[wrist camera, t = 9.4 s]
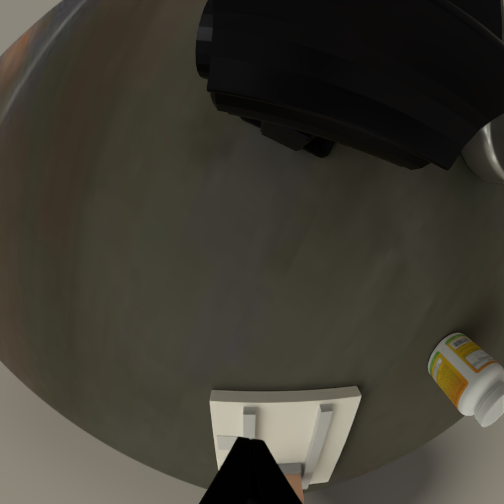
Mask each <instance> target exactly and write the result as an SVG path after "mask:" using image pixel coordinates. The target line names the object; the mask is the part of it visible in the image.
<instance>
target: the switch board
mask: <svg viewBox="0 0 504 504" xmlns="http://www.w3.org/2000/svg"><path fill="white" fill-rule="evenodd" d="M360 399H361V394H360V391H359V389H358V387H357V386H351V387H341V388H331V389H318V390H301V391H225V390H212V391H211V396H210V409H211V418H212V427H213V435H214V442H215V450H216V457H217V464H218V471H219V469H220V468H221V466H222V464H223V462H224V461H225V459H226V457H227V455H228V453H229V452H230V450H231V448H232V446H233V444H234V442H235V441H236V439H237V437H246V438H250V440H251V439H260V440H263V441H264V442H265V443H266V445H267V447H268V448H269V450H270V452H271V454H272V455H273V457H274V459H275V460H276V462H277V464H288V463H300V466H301V473H300V476H301V483H302V489H307V488H308V486H309V484H314V483H323V482H328V481H329V478H330V476H331V474H332V472H333V470H334V468H335V465H336V463H337V461H338V458H339V456H340V454H341V451H342V449H343V446H344V444H345V441H346V439H347V436H348V434H349V431H350V428H351V426H352V423H353V420H354V417H355V414H356V411H357V409H358V406H359V403H360Z"/></svg>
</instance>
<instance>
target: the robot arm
mask: <svg viewBox="0 0 504 504" xmlns="http://www.w3.org/2000/svg"><path fill="white" fill-rule="evenodd" d="M195 53H196V66H197V71H198V73H199V75H200V77H202V78H205V79H208V84H207V91H208V92H210V93H211V99H212V102H213V104H214V105H215V107H216V108H217V110H218V111H223V112H228V114H231V115H236V116H240V118H241V119H242V120H243V121H245V122H248V123H250V124H252V125H254V126H257V127H259V128H261V133H262V135H264V136H266V137H268V138H270V139H273V140H275V141H277V142H279V143H281V144H283V145H285V146H287V147H289V148H291V149H293V150H295V151H297V150H300V149H304V150H306V151H308V152H310V153H312V154H313V155H315V156H317V157H320V158H324V157H326V156H328V155H329V153H330V151H331V149H332V147H333V145H334V143H335V142H337V143H340V144H343V145H346V146H349V147H352V148H355V149H357V150H360V151H363V152H365V153H368V154H371V155H373V156H376V157H378V158H381V159H383V160H386V161H388V162H391V163H393V164H396V165H398V166H400V167H406V168H408V169H410V170H414V169H419V168H423V167H424V166H426V165H428V164H429V163H433V164H435V165H437V166H439V167H440V168H442V169H444V170H449V169H450V168H451V166H452V165H453V163H454V162H455V160H456V159H457V157H458V155H459V154H460V152H461V151H462V149H463V148H464V146H465V145H466V144H467V143H468V142H469V141H470V140H471V139H472V138H473V137H474V135H475V134H476V133H477V132H478V131H479V130H480V129H481V128H483V127H484V126H485V125H487V124H488V123H489V122H491V121H492V120H494V119H495V118H497V117H498V116H500V115H502V114H503V113H504V6H503V0H208V1H207V3H206V5H205V8H204V10H203V13H202V16H201V20H200V23H199V27H198V33H197V39H196V52H195ZM320 147H323V148H324V149H325V153H324V154H322V153H320V152H319V148H320ZM199 504H303V503H302V502H301V500H300V499H299V497H298V496H297V494H296V493H295V491H294V490H293V488H292V486H291V485H290V483H289V482H288V480H287V479H286V477H285V475H284V474H283V472H282V470H281V469H280V467H279V465H278V464H277V462H276V460H275V459H274V457H273V455H272V454H271V452H270V450H269V448H268V447H267V445H266V443H265V442H264V441H263V440H260V439H251V440H250V438H246V437H237V439H236V441H235V442H234V444H233V446H232V448H231V450H230V452H229V453H228V455H227V457H226V459H225V461H224V462H223V464H222V466H221V468H220V469H219V471H218V473H217V474H216V476H215V478H214V480H213V481H212V483H211V485H210V486H209V488H208V490H207V491H206V493H205V495H204V496H203V498H202V500H201V501H200V503H199Z"/></svg>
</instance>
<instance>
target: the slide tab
mask: <svg viewBox="0 0 504 504" xmlns="http://www.w3.org/2000/svg"><path fill="white" fill-rule="evenodd" d="M278 465H279V467H280V469H281V470H282V472H283V474H284V475H285V477H286V479H287V480H288V482H289V483H290V485H291V486H292V488H293V490H294V491H295V493H296V494H297V496H298V497H299V499H300V500H301V502H302V503H303V504H304V497H303V490H302V483H301V476H300V473H301V466H300V463H288V464H278Z"/></svg>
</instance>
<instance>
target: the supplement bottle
mask: <svg viewBox="0 0 504 504" xmlns="http://www.w3.org/2000/svg"><path fill="white" fill-rule="evenodd" d="M428 371H429V374H430V375H431V376H432V378H433V379H434V380H435V382H436V383H437V384H438V385H439V386H440V388H441V389H442V390H443V391H444V392H445V394H446V395H447V396H448V397H449V399H450V400H451V401H452V403H453V404H454V405H455V406H456V408H457V409H458V410H459V411H460V412H461V413H462V414H463V415H465V416H471V415H475V418H476V420H477V421H478V423H479V424H480V425H481V426H482V427H487V426H489V425H491V424H492V423H493V422H495V421H496V420H497V419H498V418H499V417H500V416H501V415H502V414H503V413H504V369H503V368H502V366H501V365H500V364H499V363H498V362H496V361H495V360H494V359H493V358H492V357H491V356H489V355H488V354H487V353H486V352H485V351H484V350H482V349H481V348H480V347H479V346H478V345H476V344H475V343H474V342H473V341H472V340H470V339H469V338H468V337H467V336H465V335H464V334H462V333H453V334H451V335H449V336H447V337H445V338H444V339H443V340H442V341H441V342H440V343H439V344H438V345H437V347H436V348H435V349H434V351H433V353H432V354H431V357H430V359H429V362H428Z"/></svg>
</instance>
